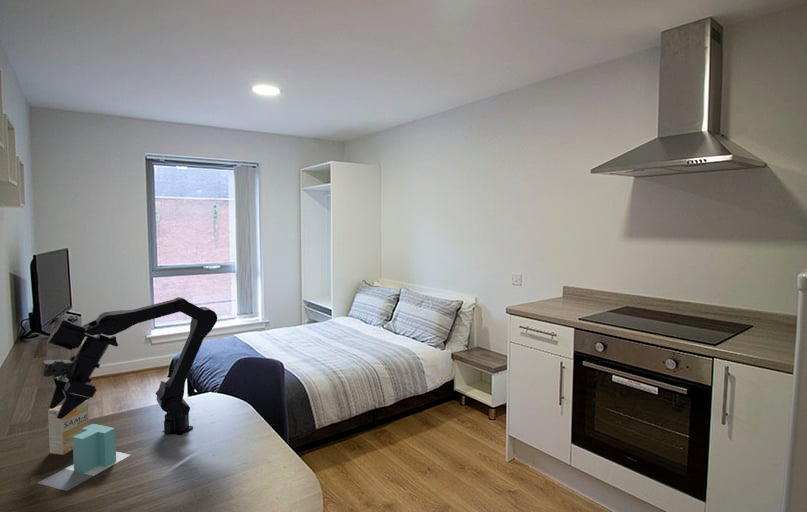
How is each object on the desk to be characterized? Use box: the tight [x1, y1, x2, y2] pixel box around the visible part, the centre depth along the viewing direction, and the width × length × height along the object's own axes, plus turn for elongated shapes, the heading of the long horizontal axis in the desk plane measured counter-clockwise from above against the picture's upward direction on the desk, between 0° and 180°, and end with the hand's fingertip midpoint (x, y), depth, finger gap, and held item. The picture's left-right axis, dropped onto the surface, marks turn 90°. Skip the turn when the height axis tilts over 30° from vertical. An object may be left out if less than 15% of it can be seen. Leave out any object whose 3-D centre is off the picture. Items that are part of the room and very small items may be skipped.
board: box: [37, 451, 131, 492], centre depth 113 cm, size 17×10×1 cm, turn 163°
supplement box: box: [47, 399, 90, 456], centre depth 123 cm, size 8×5×13 cm, turn 168°
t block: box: [72, 423, 117, 473], centre depth 114 cm, size 7×8×9 cm
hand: (55, 413), depth 114 cm, fingers open, 9 cm apart
